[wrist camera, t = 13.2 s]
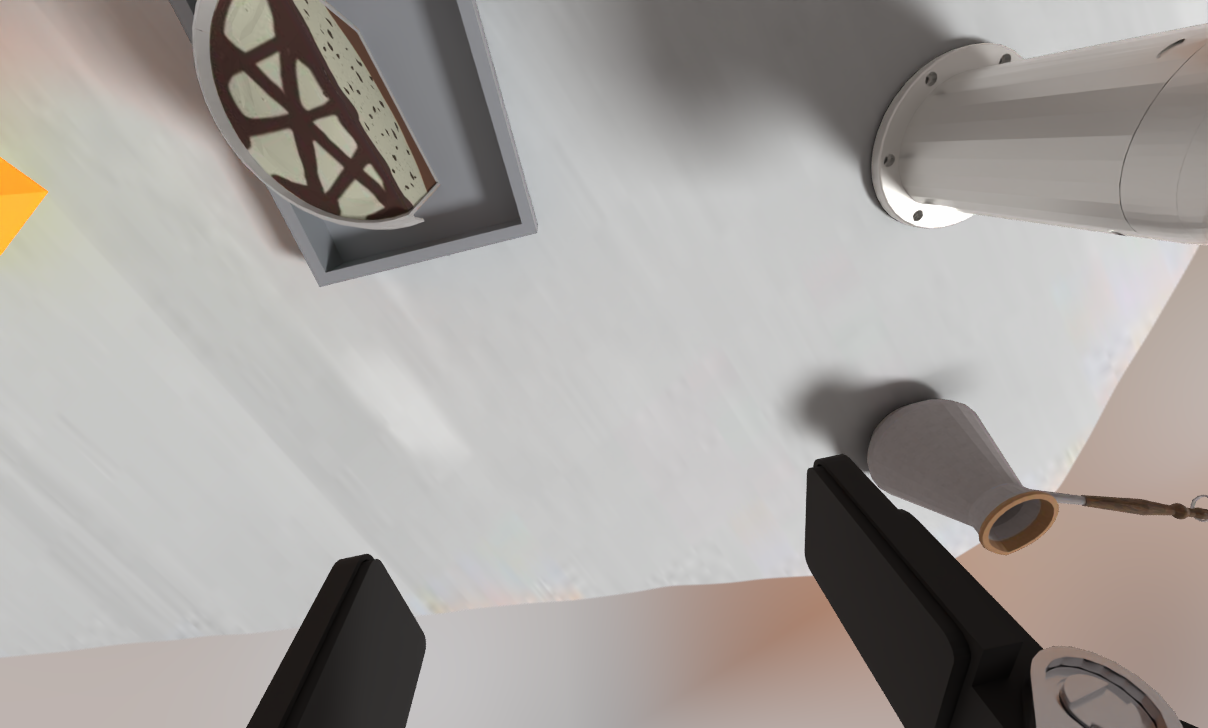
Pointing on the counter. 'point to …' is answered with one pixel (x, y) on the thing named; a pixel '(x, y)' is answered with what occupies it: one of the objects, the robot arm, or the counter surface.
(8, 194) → the orange juice
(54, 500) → the counter surface
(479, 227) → the grey bin
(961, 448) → the coffee pot
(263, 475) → the counter surface
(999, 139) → the robot arm
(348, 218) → the food container
